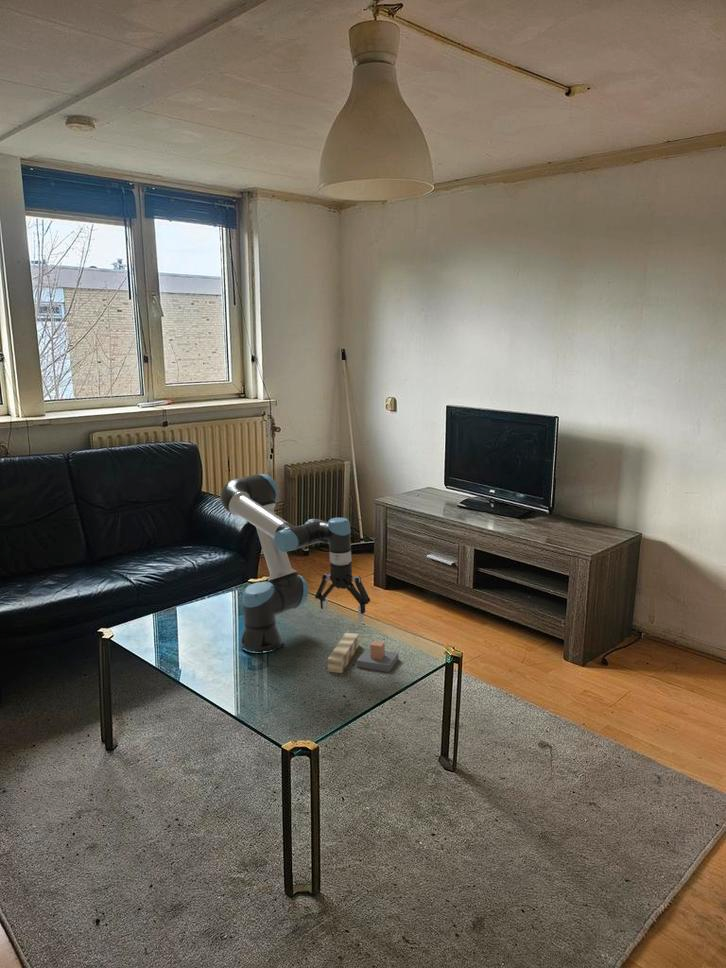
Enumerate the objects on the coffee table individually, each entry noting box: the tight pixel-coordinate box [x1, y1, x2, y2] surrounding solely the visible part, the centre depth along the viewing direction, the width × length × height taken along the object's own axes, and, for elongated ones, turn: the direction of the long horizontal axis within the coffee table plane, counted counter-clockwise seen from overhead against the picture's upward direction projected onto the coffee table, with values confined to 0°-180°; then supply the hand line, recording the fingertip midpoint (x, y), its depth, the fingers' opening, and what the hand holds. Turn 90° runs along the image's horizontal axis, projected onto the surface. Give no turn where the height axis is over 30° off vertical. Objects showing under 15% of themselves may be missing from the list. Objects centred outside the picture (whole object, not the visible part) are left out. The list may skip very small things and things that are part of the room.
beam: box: [327, 632, 360, 674], centre depth 246 cm, size 22×5×5 cm, turn 165°
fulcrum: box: [356, 640, 399, 673], centre depth 241 cm, size 12×10×8 cm
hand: (343, 619), depth 243 cm, fingers open, 13 cm apart
